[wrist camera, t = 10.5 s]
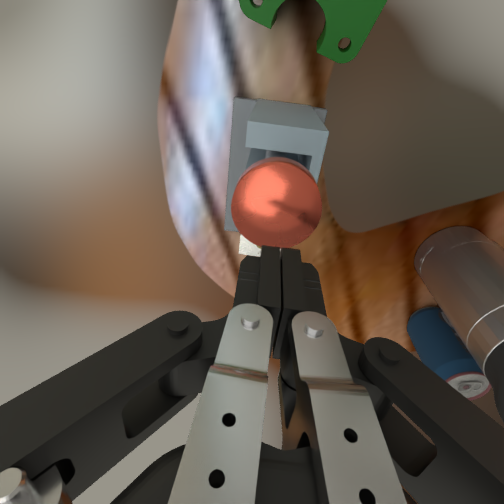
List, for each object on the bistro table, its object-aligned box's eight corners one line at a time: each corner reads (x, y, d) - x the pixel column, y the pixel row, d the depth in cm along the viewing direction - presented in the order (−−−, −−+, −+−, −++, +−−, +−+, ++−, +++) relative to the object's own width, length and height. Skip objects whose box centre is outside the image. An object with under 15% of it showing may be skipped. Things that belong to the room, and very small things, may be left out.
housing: (287, 199, 38) (289, 226, 32) (280, 234, 41) (281, 265, 35) (247, 194, 38) (241, 220, 32) (243, 229, 41) (237, 259, 35)
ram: (308, 123, 27) (332, 172, 16) (297, 178, 30) (311, 254, 18) (252, 116, 27) (234, 159, 16) (246, 171, 30) (227, 243, 18)
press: (326, 107, 34) (353, 134, 22) (297, 235, 42) (306, 304, 30) (235, 95, 34) (212, 116, 22) (225, 225, 42) (205, 291, 30)
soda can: (401, 336, 51) (433, 405, 41) (406, 304, 47) (441, 371, 37) (446, 333, 50) (490, 403, 40) (455, 301, 46) (504, 369, 36)
